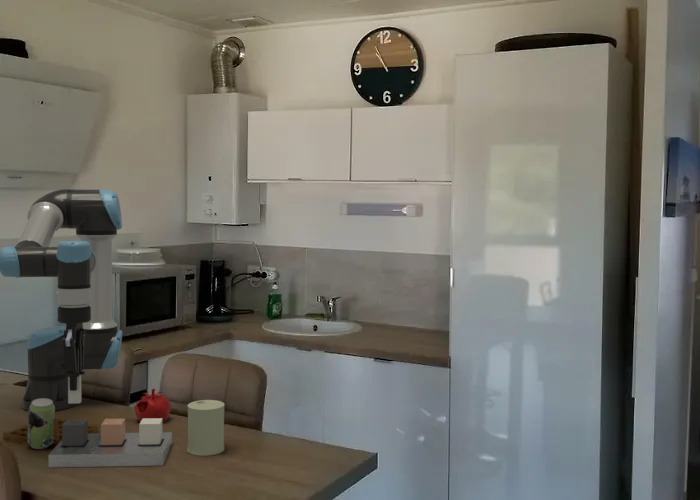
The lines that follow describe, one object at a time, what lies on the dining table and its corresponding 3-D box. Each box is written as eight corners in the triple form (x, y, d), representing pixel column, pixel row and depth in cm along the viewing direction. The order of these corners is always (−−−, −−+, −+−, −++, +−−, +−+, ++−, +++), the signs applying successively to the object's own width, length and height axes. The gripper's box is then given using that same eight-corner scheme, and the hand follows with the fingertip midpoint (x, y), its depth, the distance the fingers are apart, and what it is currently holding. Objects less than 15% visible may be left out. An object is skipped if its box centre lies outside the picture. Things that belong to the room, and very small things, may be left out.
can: (210, 441, 198) (211, 395, 197) (231, 450, 191) (232, 403, 190) (179, 449, 191) (180, 402, 190) (200, 458, 185) (200, 409, 184)
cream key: (142, 438, 189) (142, 418, 189) (162, 438, 189) (162, 418, 189) (139, 444, 184) (139, 424, 184) (159, 444, 185) (159, 423, 184)
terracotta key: (105, 438, 188) (105, 418, 188) (125, 438, 188) (125, 418, 188) (100, 445, 183) (100, 424, 183) (121, 444, 184) (121, 424, 183)
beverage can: (45, 440, 196) (45, 394, 195) (60, 447, 191) (60, 400, 190) (21, 446, 191) (21, 399, 190) (36, 453, 186) (36, 405, 186)
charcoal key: (67, 439, 187) (67, 419, 187) (87, 439, 188) (87, 419, 187) (62, 445, 182) (62, 425, 182) (82, 445, 183) (82, 424, 182)
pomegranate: (169, 415, 222) (169, 383, 221) (172, 424, 212) (173, 391, 212) (133, 417, 218) (134, 384, 218) (135, 426, 209) (136, 393, 209)
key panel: (67, 445, 193) (67, 433, 192) (171, 443, 195) (171, 432, 195) (48, 467, 177) (48, 454, 177) (163, 465, 179) (163, 453, 179)
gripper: (65, 301, 189) (66, 396, 190) (50, 309, 176) (50, 410, 177) (96, 302, 190) (97, 395, 191) (83, 309, 177) (84, 409, 178)
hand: (74, 402), depth 184 cm, fingers closed
